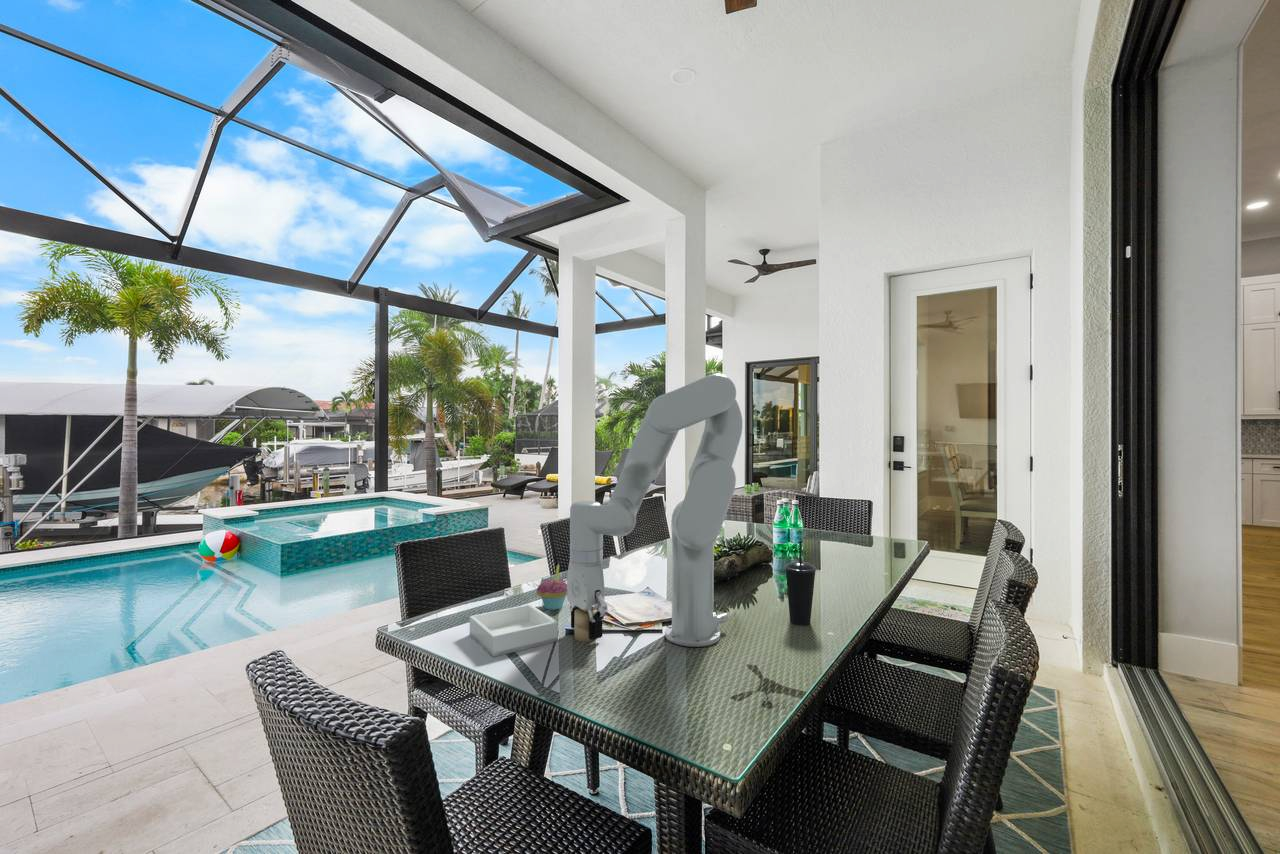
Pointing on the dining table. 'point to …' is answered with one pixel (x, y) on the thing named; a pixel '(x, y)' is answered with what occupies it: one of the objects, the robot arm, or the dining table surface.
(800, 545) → the drinking cup
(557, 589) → the cupcake
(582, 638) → the beige cylinder
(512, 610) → the serving dish
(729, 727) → the dining table surface
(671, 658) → the dining table surface
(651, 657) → the dining table surface
